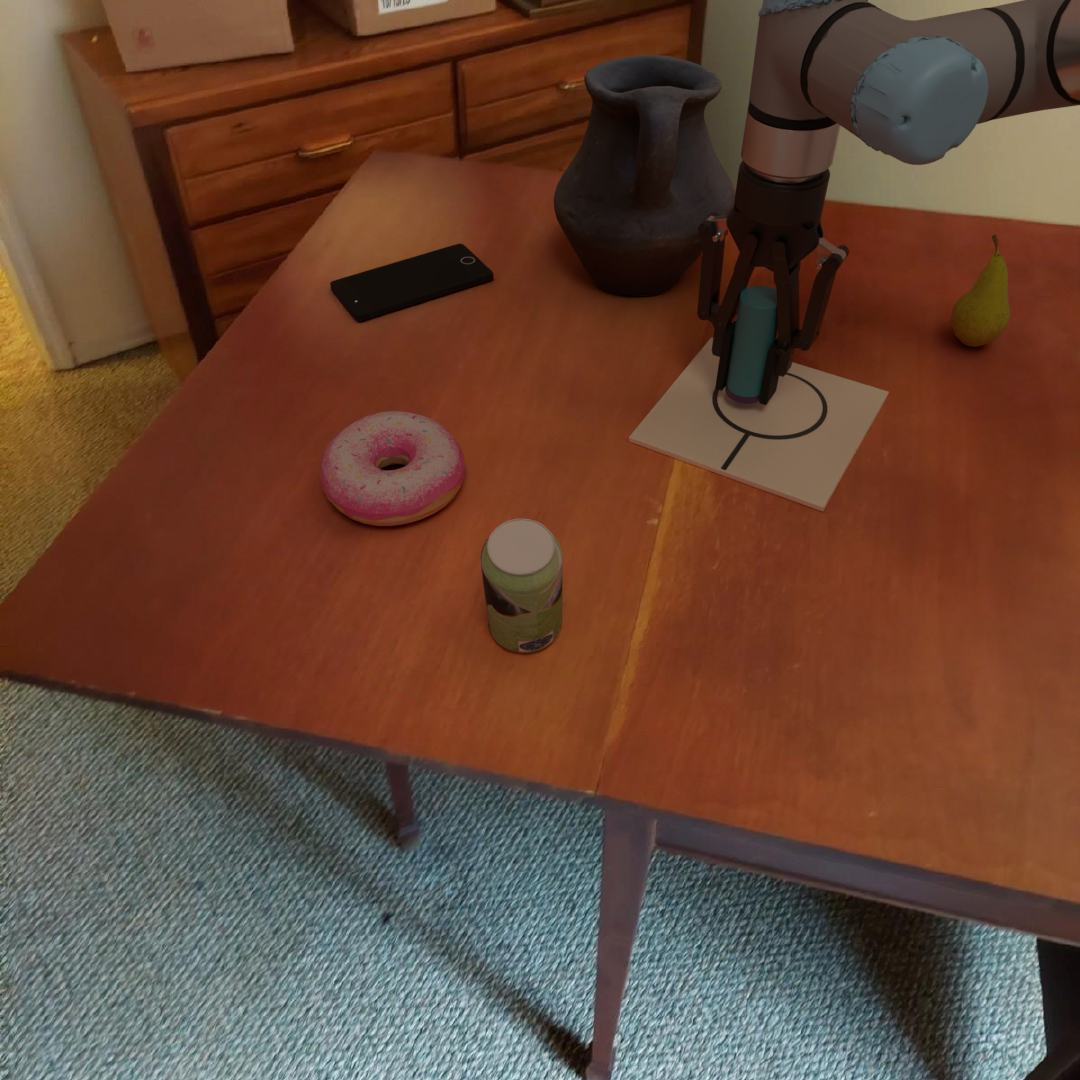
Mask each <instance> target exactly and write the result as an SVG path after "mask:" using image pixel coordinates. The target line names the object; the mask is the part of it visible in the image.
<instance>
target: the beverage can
mask: <svg viewBox="0 0 1080 1080" xmlns="http://www.w3.org/2000/svg"><path fill="white" fill-rule="evenodd" d="M562 549H563V548H562V547H561V544H560V542H559V540H558V539H557V537H556V536H555V535H554V534H553V533H552V532H551V531H550V530H549V528H547V527H546V526H545V525H544V524H542V523H541V522H539V521H537V520H534V519H529V518H514V519H509V520H507V521H504V522H503V523H501V524H499V525H498V526H497V527H496V528H494V529H493V531H492V532H491V533H490V535H489V536H488V537H487V539H486V540H485V542H484V544H483V546H482V549H481V551H480V567H481V576H482V584H483V592H484V600H485V609H486V617H487V626H488V630H489V632H490V635H491V637H492V638H493V639H494V641H495V642H496V644H499V645H500V646H501V647H502V648H504V649H506V650H508V651H510V652H513V653H519V654H529V653H530V654H531V653H536V652H539V651H541V650H543V649H546V648H547V647H548V646H550V645H551V644H552V643H553V642H554V641H555V640H556V639H557V638H558V636H559V634H560V632H561V629H562V626H563V579H564V578H563V577H564V576H563V573H564V571H563V570H564V569H563V567H564V564H563V562H564V561H563V559H564V557H563V550H562Z"/></svg>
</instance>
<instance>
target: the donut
mask: <svg viewBox="0 0 1080 1080" xmlns="http://www.w3.org/2000/svg"><path fill="white" fill-rule="evenodd" d="M464 455H465V453H464V452H463V450H462V448H461V446H460V443H459V442H458V441H457V440H456V438H455V437H454V436H453V434H452V433H451V432H450V430H449V429H448V428H447V427H445V426H444V425H443V424H442V423H440V422H439V421H437V420H435V419H433V418H431V417H428V416H425V415H422V414H419V413H414V412H409V411H400V410H399V411H398V410H391V411H390V410H388V411H381V412H377V413H372V414H369V415H367V416H364V417H362V418H359V419H357V420H356V421H354V422H352V423H350V424H349V425H347V426H346V427H344V428H343V429H341V430H340V431H339V432H337V434H336V435H335V436H334V437H333V438H332V439H331V440H330V442H329V443H328V444H327V445H326V448H325V450H324V453H323V455H322V457H321V461H320V465H319V476H320V477H319V478H320V483H321V487H322V490H323V492H324V494H325V496H326V498H327V499H328V501H329V502H330V503H331V504H332V505H333V506H334V507H335V508H336V509H337V510H338V511H339V512H340V513H342V514H343V515H345V516H346V517H348V518H349V519H351V520H354V521H356V522H359V523H361V524H365V525H371V526H376V527H393V526H401V525H406V524H410V523H414V522H417V521H420V520H423V519H425V518H427V517H430V516H432V515H435V514H436V513H438V512H439V511H440V510H442V509H443V508H445V507H447V505H448V504H449V503H451V502H452V500H454V498H455V496H456V495H457V493H458V492H459V490H460V489H461V486H462V485H463V483H464V480H465V475H466V463H465V456H464ZM394 465H404V466H403V467H400V468H397V469H390V470H384V469H383V468H385V467H388V466H394Z"/></svg>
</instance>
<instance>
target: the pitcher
mask: <svg viewBox="0 0 1080 1080" xmlns="http://www.w3.org/2000/svg"><path fill="white" fill-rule="evenodd" d="M583 81H584V86H585V89H586V91H587V93H588V95H589V97H590V98H591V108H590V114H589V120H588V124H587V127H586V129H585V133H584V136H583V138H582V141H581V145H580V147H579V148H578V149H577V152H576V153H575V155H574V157H573V158H572V160H571V161H570V163H569V165H568V166H567V167H566V169H565V170H564V172H563V173H562V175H561V176H560V178H559V181H558V182H557V184H556V186H555V190H554V194H553V209H554V214H555V218H556V220H557V223H558V224H559V227H560V229H561V230H562V232H563V234H564V235H565V237H566V239H567V241H568V243H569V245H570V246H571V248H572V250H573V252H574V253H575V255H576V256H577V258H578V260H579V261H580V263H581V266H582V268H583V270H584V271H585V272H586V274H587V275H588V276H589V278H590V279H591V280H592V281H593V282H594V284H595V285H596V286H597V287H598V288H600V289H602V290H604V291H605V292H608V293H612V294H616V295H621V296H631V297H649V296H652V297H653V296H658V295H661V294H663V293H665V292H667V291H669V290H671V288H673V286H675V285H676V284H677V283H678V282H679V281H681V279H682V278H683V277H684V275H685V274H686V273H687V272H688V270H689V269H690V268H691V267H692V266H693V264H694V263H695V262H696V261H697V260H698V259H699V257H700V256H701V255H702V249H703V248H702V244H701V240H700V236H699V232H698V226H699V225H700V224H701V223H702V222H703V221H704V220H705V219H706V218H707V217H708V216H709V215H710V214H711V213H713V212H716V213H718V214H719V215H720V216H722V215H728V214H729V213H730V212H731V211H732V209H733V207H734V200H735V193H736V191H735V188H734V185H733V182H732V180H731V178H730V176H729V174H728V172H727V170H726V169H725V168H724V166H723V165H722V163H721V161H720V160H719V158H718V156H717V154H716V151H715V149H714V146H713V142H712V140H711V136H710V132H709V129H708V125H707V123H706V119H705V110H706V107H707V105H708V104H709V103H710V102H711V101H713V100H714V99H715V98H716V97H718V95H719V94H720V93H721V91H722V89H723V87H722V81H721V79H720V78H719V76H717V75H716V74H715V73H714V72H712V71H709V70H708V69H707V68H705V67H704V66H702V65H700V64H698V63H696V62H693V61H690V60H685V59H682V58H677V57H674V56H671V55H662V54H661V55H659V54H643V55H632V56H625V57H622V58H614V59H611V60H608V61H607V60H606V61H605V62H601V63H598V64H596V65H595V66H593V67H591V68H589V69H588V70H587V71H586V72H585V74H584V78H583Z"/></svg>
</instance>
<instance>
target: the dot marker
mask: <svg viewBox="0 0 1080 1080" xmlns="http://www.w3.org/2000/svg"><path fill="white" fill-rule="evenodd" d="M736 313H737V315H736V317H735V318H736V319H735V321H736V324H735V330H734V337H733V343H732V349H731V356H730V362H729V368H728V375H727V381H726V388H725V392H726V394H727V396H728V397H729V398H730V399H732V400H734V401H736V402H739V403H743V404H752V403H756V402H759V400H760V395H761V389H762V384H763V379H764V374H765V368H766V363H767V358H768V353H769V348H770V347H771V345H772V344H773V343H774V342H775V340H776V339H777V337H778V324H777V291H776V288H774V287H772V286H769V285H759V284H758V285H751V286H747V288H745V289H744V290H743V291H742V292H741V294H740V299H739V305H738V310H737V312H736Z"/></svg>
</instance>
